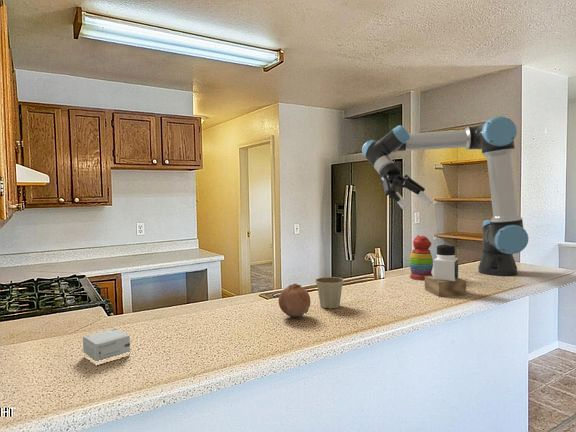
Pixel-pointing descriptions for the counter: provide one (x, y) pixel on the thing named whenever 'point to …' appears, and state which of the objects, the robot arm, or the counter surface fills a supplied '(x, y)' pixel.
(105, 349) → the small box
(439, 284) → the walnut block
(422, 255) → the stacking bear
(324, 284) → the flower pot
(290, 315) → the onion
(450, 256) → the medicine bottle
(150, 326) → the counter surface
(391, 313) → the counter surface
